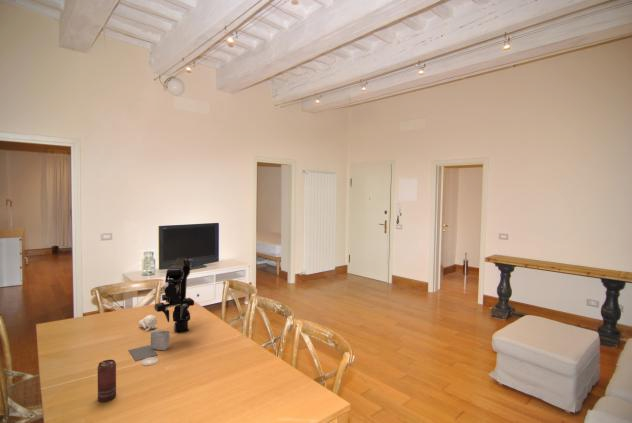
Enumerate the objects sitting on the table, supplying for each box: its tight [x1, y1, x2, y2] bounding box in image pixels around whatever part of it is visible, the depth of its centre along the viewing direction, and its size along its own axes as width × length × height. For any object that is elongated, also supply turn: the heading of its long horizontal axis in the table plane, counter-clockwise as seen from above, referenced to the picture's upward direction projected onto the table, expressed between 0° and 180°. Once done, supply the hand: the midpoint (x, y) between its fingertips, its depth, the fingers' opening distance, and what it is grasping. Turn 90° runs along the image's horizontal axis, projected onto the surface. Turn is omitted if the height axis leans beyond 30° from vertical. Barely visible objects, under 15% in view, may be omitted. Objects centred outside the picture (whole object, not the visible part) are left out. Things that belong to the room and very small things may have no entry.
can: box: [97, 359, 117, 403], centre depth 136 cm, size 6×6×14 cm
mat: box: [128, 344, 159, 362], centre depth 174 cm, size 10×14×1 cm
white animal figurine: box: [138, 314, 158, 332], centre depth 204 cm, size 6×8×12 cm
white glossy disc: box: [141, 356, 159, 367], centre depth 165 cm, size 7×7×1 cm
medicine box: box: [150, 329, 171, 351], centre depth 179 cm, size 8×4×9 cm, turn 84°
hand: (174, 320), depth 183 cm, fingers open, 6 cm apart
